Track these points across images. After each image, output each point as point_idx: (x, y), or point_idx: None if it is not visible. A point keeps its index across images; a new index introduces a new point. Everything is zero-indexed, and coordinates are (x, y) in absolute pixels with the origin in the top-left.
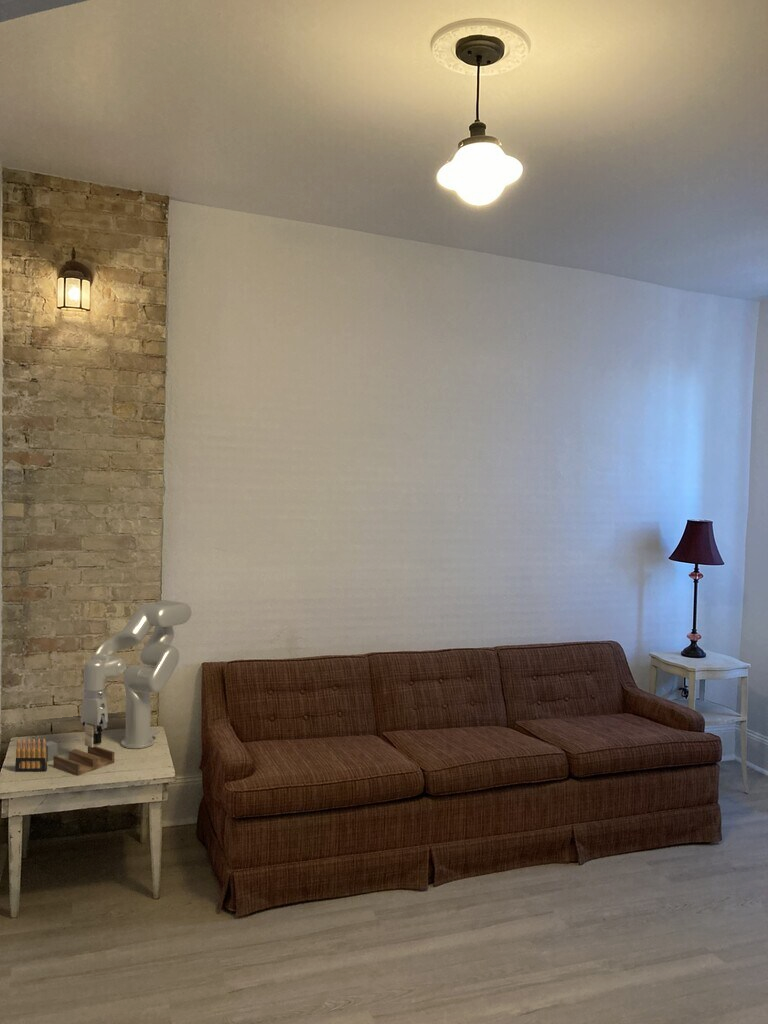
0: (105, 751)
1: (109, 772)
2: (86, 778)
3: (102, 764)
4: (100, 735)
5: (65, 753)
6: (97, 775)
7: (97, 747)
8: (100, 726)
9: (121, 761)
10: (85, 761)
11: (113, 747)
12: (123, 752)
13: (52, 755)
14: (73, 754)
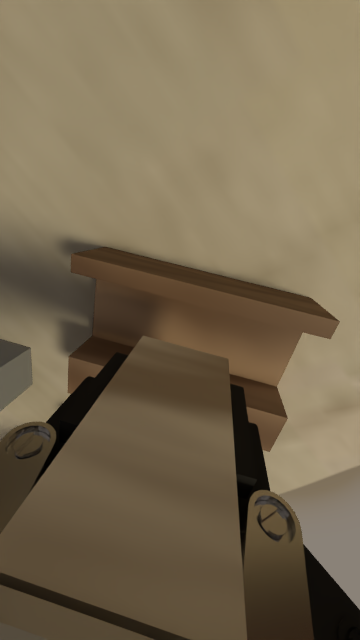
0: (255, 318)
1: (351, 409)
2: (283, 473)
3: (282, 374)
4: (262, 474)
5: (2, 284)
6: (311, 444)
7: (163, 288)
8: (272, 635)
9: (346, 265)
10: None
11: (139, 39)
12: (274, 101)
13: (15, 378)
14: None
